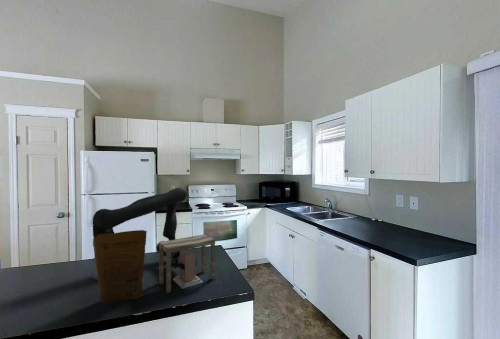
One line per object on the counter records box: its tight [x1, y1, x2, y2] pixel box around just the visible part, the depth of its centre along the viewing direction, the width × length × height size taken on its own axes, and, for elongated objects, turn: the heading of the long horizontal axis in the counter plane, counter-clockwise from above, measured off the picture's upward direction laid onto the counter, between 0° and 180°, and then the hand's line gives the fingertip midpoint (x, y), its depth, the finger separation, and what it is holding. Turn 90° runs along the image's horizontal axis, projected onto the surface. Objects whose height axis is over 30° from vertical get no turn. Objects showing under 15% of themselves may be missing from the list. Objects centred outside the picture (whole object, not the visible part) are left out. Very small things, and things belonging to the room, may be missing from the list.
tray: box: [172, 274, 204, 289], centre depth 117 cm, size 12×10×2 cm
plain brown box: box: [179, 249, 197, 282], centre depth 117 cm, size 7×5×12 cm
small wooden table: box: [158, 234, 216, 294], centre depth 117 cm, size 12×23×19 cm, turn 127°
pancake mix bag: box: [92, 229, 148, 304], centre depth 100 cm, size 7×19×28 cm, turn 106°
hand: (189, 266), depth 115 cm, fingers closed on plain brown box, 5 cm apart
